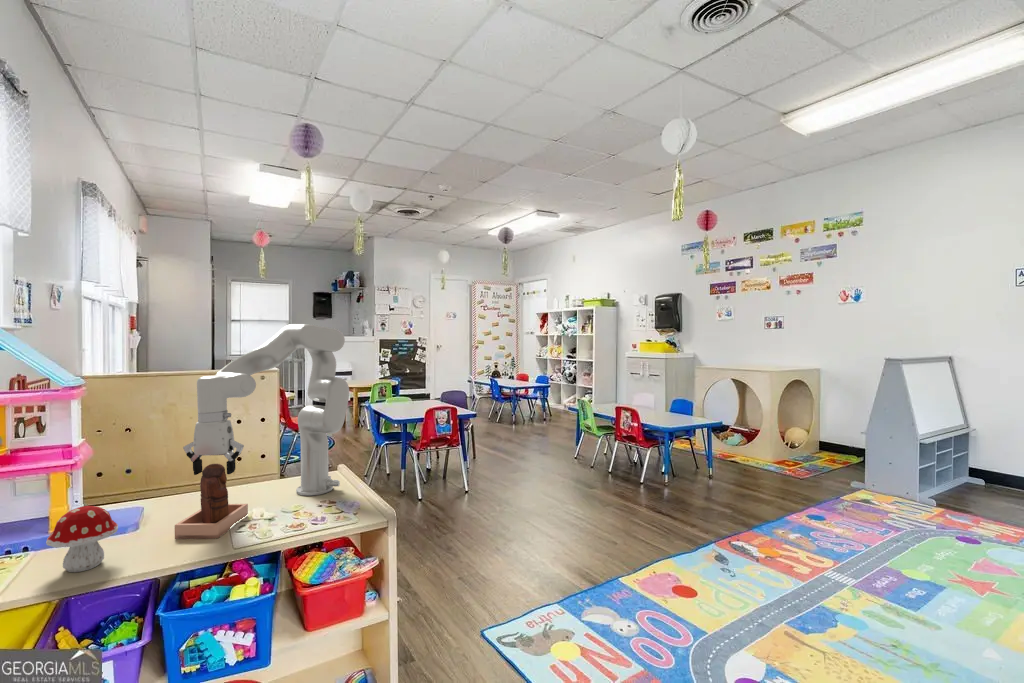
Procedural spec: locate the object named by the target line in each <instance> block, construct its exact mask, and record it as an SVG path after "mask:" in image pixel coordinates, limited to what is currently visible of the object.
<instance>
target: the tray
mask: <svg viewBox="0 0 1024 683" xmlns="http://www.w3.org/2000/svg"><path fill="white" fill-rule="evenodd" d="M248 506H249V505H248V503H228V508H229V509H228V510H229V515H227V516H226V517H225V518H223V519H222V520H220V521H219V522H217V523H203V522H202V513H201V508H200V509H199V510H197V511H196V512H194V513H192V514H190V515H189V516H187V517H185V518H184V519H182V520H180V521H179V522H176V523H175V524H174V540H189V539H190V540H202V539H204V540H207V539H208V540H215V538H217V539H220V538H221V537H222V536H224V533H225V534H226V533H227V532H228V530H229V529H230V527H231V526H232V525H233V524H234V523H236V522H237V521H239V520H240V519H242V518H243V517H245V516H246V515H247V514H248V515H249V507H248ZM230 530H231V529H230ZM230 530H229V531H230ZM220 536H221V537H220ZM213 538H214V539H213Z"/></svg>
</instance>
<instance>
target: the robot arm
mask: <svg viewBox="0 0 1024 683" xmlns="http://www.w3.org/2000/svg"><path fill="white" fill-rule="evenodd" d="M345 340H346V339H345V335H344V333H343V332H342V331H341V330H339V329H338V328H334V327H326V326H322V325H315V324H308V323H291V324H288V325H285V326H284V327H282V328H281V329H280V330H278V331H277V332H276V333H275V334H273V335H272V336H271V337H270V338H269V339H268V340H266V341H265V342H264V343H263V344H261V345H260V346H259V347H257V348H254V349H252V350H251V351H249V352H247V353H244V354H243V355H241V356H238V357H237V358H235V359H233V360H232V361H230V362H229V363H227V364H226V365H225V366H224V367H222V368H221V369H220V370H219V371H217V373H216V374H215V375H205V376H200V377H198V379H197V381H196V395H197V396H196V397H197V422H195V426H194V433H193V441H192V442H190V443H188V444H186V445H184V446H183V447H182V448H183V450H184V453H185V454H186V457H188V458H189V459H190V462H192V471H193V475H194V476H197V475H199V474H202V471H203V460H202V456H224V457H225V458H226V459H227V461H226V475H232V473H235V472H236V471H235V470H236V459H237V458H239V456H240V455H241V454H242V451H243V450H244V448H245V445H244V444H242V443H240V442H238V441H236V440H235V437H234V430H233V425H232V421H231V420H230V419H229V418H231V417H232V413H231V412H229V411H228V401H227V400H228V398H239V399H240V398H246V397H248V396H250V395H252V394H253V393H254V392H255V389H256V386H257V383H256V380H255V378H254V377H253V376H252V375H254V374H257V373H261V372H263V371H268V370H271V369H275V368H277V367H279V366H280V365H281V364H282V363H284V362H285V361H286V360H287V359H288V358H289V357H290V356H291V355H292V354H293V353H294V352H296V351H297V350H298V349H306V350H307V351H308V353H309V356H310V357H311V360H312V362H311V363H312V366H311V371H310V377H309V381H308V386H307V396H308V398H309V399H310V400H311V401H314V402H319V403H325V404H324V405H317V404H311V405H306V406H304V407H302V408H301V410H300V411H298V415H297V426H298V431H299V435H300V436H299V437H300V486H298V487H297V488H296V491H295V492H296V494H297V495H299V496H308V497H309V496H311V497H312V496H319V495H323V494H327V493H330V492H331V491H332V490H333V488H334V487H340V486H341V485H340V482H341V481H340V480H339V479H332V476H331V475H329V439H328V436H327V434H336V433H337V432H340V431H341V429H342V428H343V426H344V425H345V424H344V423H345V420H346V415H347V411H348V410H347V409H348V404H349V398H350V387H349V384H348V382H347V381H346V380H345V379H344V378H342V377H338V376H337V377H336V372H337V360H336V356H335V355H334V354H335V352H338V351H340V350H342V348H343V347H344V345H345V342H346V341H345ZM192 448H193V449H192ZM234 450H235V452H234Z"/></svg>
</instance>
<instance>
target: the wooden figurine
mask: <svg viewBox="0 0 1024 683" xmlns="http://www.w3.org/2000/svg"><path fill="white" fill-rule="evenodd" d="M201 475H202V476H201V478H200V484H199V485H200V487H199V490H200V509H201V513H202V522H203V523H217V522H219V521H220V520H222V519H223V518H225V517H226V516H227V515H229V510H228V509H229V508H228V504H229V491H228V488H227V480H228V479H227V473H226V468H225V467H224V465H223V464H220V463H210V464H208V465H207V466H205V467H204V468H203V469H202V472H201Z"/></svg>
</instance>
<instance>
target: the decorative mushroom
mask: <svg viewBox="0 0 1024 683" xmlns="http://www.w3.org/2000/svg"><path fill="white" fill-rule="evenodd" d="M118 531H119V524H118V523H117V522H116V521H114V520H113V519H112V516H111V514H110V512H109V511H108V510H106V509H105V508H103V507H100V506H96V505H83V506H79V507H76V508H74V509H71V510H69V511H68V512H67V511H66V513H64V514H63V515H62V516H61V517H60V518H59V519H58V520H57V521H56V524H55V527H54V530H52V532H51V533H50V535H49V536H48V537H47V539H46V542H45V544H46V545H47V546H48V547H52V548H56V549H57V548H58V549H59V548H68V550H67V552H66V553H65V556H64V557H63V562H62V568H63V569H64V570H65V571H67V572H68V573H79V572H84V571H89V570H91V569H94V568H95V567H97V566H99V565H101V563H102V562H103V560H104V558H105V550H104V549H103V547H102V546H101V544H100V542H99V541H101V540H104V539H107V538H109V537H111V536H112V535H114V534H115V533H117V532H118Z"/></svg>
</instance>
